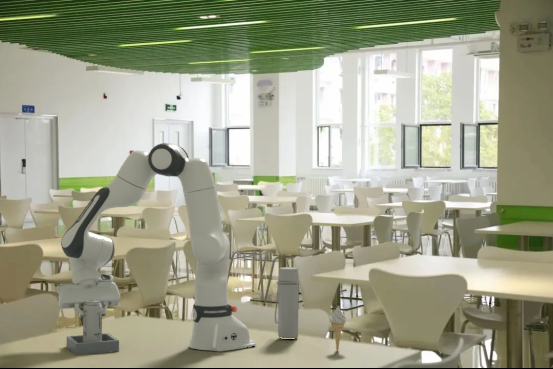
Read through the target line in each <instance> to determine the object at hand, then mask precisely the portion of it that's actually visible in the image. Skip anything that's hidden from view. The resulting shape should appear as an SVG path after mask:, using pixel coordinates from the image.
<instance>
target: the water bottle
mask: <svg viewBox="0 0 553 369" xmlns="http://www.w3.org/2000/svg"><path fill="white" fill-rule="evenodd" d="M298 269H299V268H298V267H294V266H293V267H290V266H289V267H287V266H286V267H284V266H283V267H279V268H278V277H277V279H278V281H276V284H277V292H276V299H275V310H274V323H275V324H277V325H278V326H277V337H278V336H279V337H282V338H296V339H298V338H299V292H300V291H299V290H300V287H299V285H300V284H299V283H300V282H299V281H300V278H299V270H298ZM277 313H278V314H277ZM277 316H278V317H277ZM277 319H278V320H277ZM279 337H278V338H279Z"/></svg>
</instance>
